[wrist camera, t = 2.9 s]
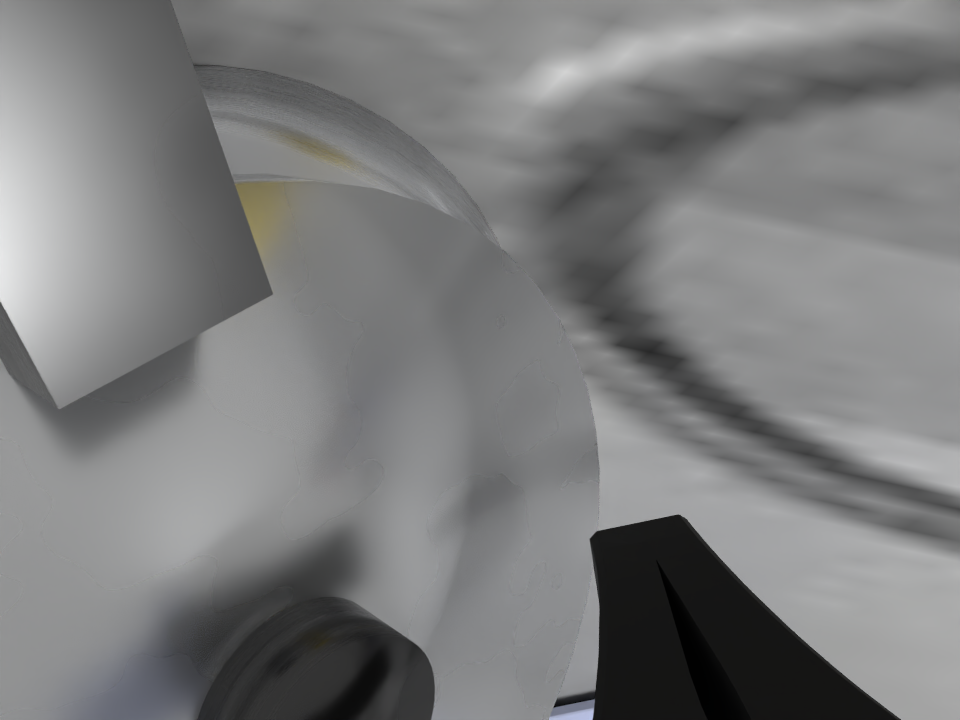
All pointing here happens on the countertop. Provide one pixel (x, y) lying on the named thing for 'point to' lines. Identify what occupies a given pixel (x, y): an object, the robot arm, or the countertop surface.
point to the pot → (325, 140)
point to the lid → (262, 419)
